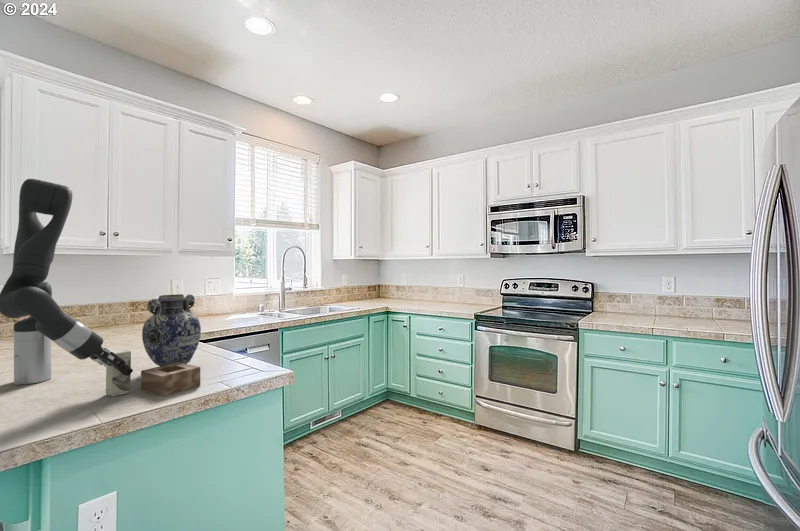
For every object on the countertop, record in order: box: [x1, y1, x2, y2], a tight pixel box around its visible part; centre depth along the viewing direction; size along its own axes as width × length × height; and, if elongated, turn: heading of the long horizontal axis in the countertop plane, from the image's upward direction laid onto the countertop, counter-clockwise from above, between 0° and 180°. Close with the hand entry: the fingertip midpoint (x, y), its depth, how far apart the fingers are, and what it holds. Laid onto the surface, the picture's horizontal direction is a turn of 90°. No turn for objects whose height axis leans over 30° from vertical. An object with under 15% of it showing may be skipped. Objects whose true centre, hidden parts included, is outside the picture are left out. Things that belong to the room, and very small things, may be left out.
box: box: [105, 349, 132, 397], centre depth 121 cm, size 5×4×13 cm
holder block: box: [140, 362, 201, 397], centre depth 126 cm, size 12×12×6 cm
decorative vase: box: [141, 293, 202, 367], centre depth 145 cm, size 21×19×28 cm
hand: (125, 371), depth 122 cm, fingers open, 5 cm apart
